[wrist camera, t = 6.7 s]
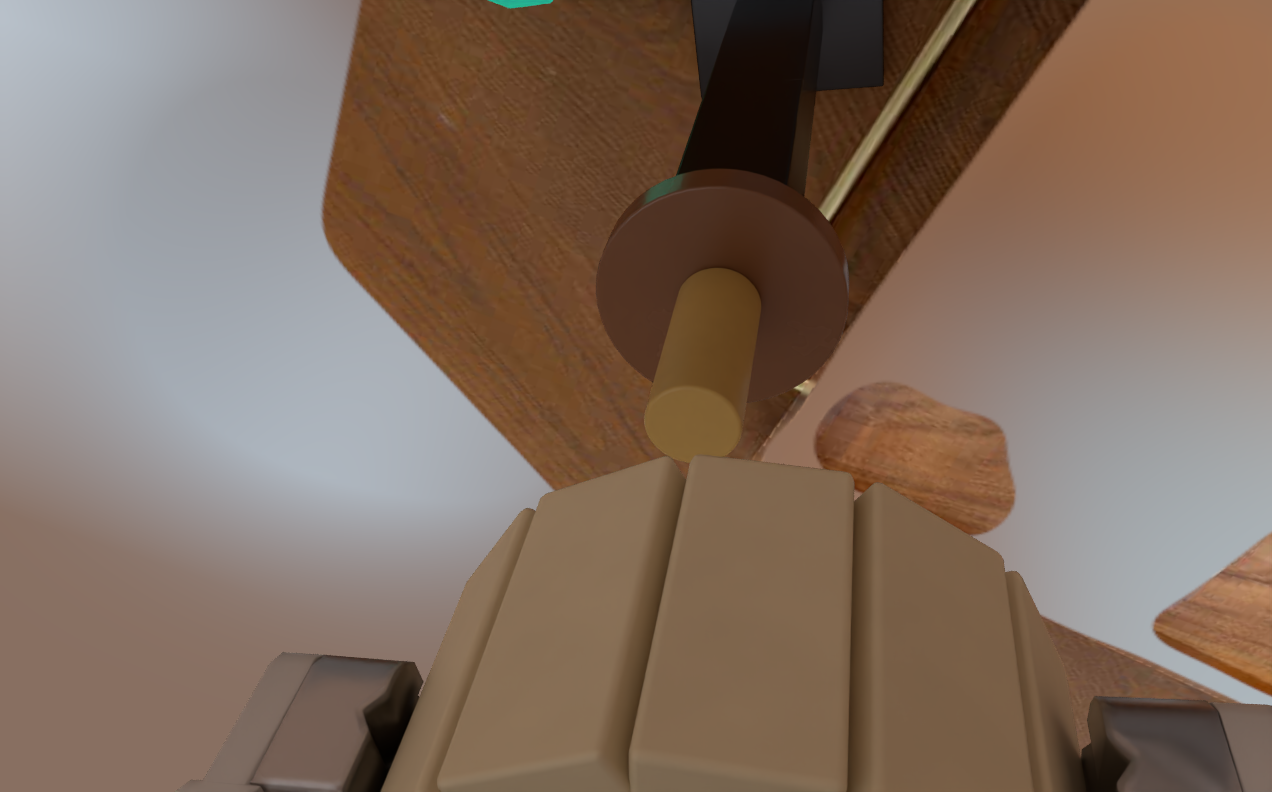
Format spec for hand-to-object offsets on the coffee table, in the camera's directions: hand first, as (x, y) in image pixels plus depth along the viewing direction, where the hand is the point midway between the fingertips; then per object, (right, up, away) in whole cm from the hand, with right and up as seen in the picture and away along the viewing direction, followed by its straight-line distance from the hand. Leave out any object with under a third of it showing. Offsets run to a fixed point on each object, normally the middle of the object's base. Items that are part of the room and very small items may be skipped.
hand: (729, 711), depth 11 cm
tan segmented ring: (0, 0, +1) cm, 2 cm away
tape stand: (+6, +21, +35) cm, 41 cm away
